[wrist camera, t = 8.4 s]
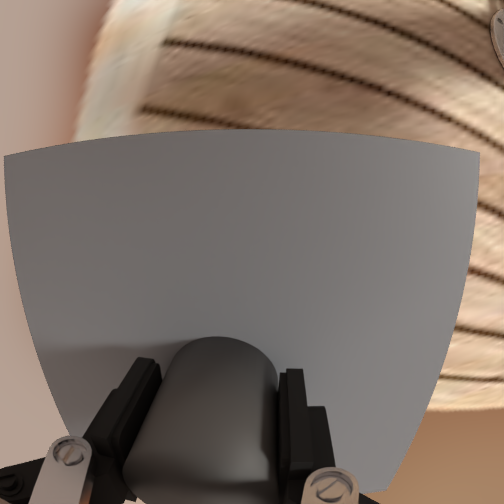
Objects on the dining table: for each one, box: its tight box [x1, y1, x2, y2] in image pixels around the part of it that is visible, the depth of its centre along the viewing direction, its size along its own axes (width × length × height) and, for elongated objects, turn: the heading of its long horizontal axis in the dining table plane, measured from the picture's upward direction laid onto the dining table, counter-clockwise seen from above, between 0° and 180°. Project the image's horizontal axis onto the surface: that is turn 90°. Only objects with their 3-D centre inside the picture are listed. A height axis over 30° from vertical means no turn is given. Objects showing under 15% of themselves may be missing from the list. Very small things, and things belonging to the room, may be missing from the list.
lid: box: [4, 129, 480, 504], centre depth 9 cm, size 17×17×6 cm
